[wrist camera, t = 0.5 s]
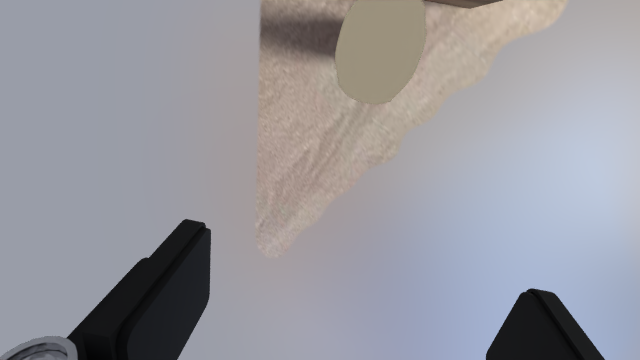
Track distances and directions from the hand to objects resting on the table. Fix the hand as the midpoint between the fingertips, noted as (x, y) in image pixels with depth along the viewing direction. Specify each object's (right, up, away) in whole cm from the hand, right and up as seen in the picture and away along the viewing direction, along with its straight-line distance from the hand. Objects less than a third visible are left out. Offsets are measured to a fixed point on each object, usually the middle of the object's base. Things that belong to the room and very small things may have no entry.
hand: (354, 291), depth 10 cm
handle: (+4, +17, +23) cm, 29 cm away
